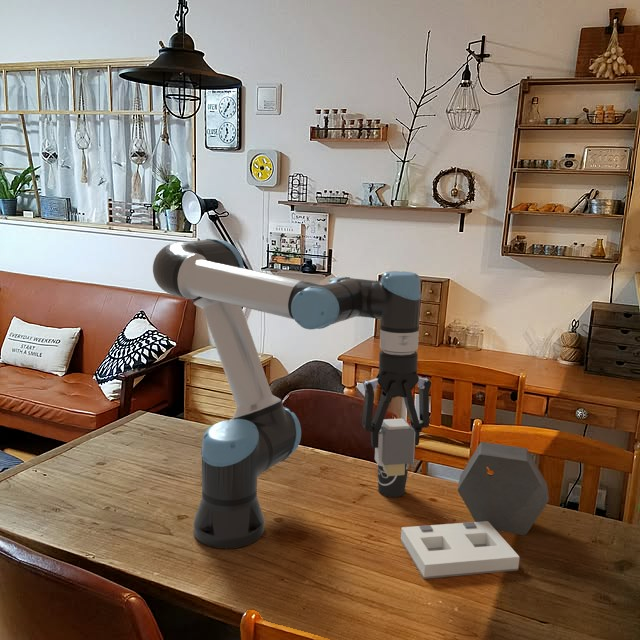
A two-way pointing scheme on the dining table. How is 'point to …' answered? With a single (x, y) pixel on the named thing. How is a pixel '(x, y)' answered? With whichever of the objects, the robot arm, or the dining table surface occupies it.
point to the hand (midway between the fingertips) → (394, 460)
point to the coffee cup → (391, 483)
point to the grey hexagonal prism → (503, 488)
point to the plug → (397, 446)
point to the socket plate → (458, 549)
